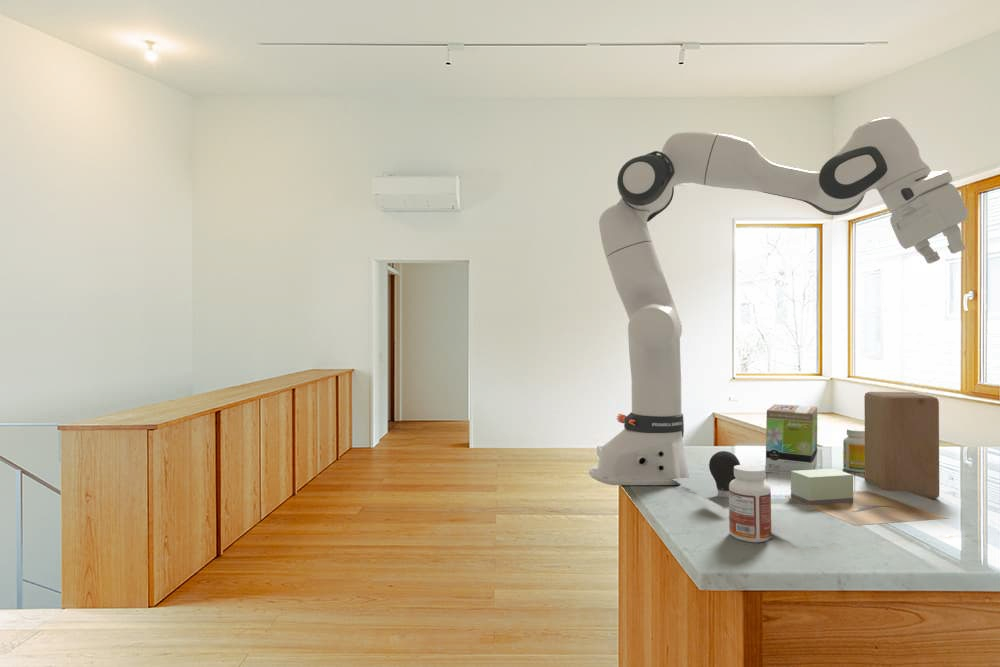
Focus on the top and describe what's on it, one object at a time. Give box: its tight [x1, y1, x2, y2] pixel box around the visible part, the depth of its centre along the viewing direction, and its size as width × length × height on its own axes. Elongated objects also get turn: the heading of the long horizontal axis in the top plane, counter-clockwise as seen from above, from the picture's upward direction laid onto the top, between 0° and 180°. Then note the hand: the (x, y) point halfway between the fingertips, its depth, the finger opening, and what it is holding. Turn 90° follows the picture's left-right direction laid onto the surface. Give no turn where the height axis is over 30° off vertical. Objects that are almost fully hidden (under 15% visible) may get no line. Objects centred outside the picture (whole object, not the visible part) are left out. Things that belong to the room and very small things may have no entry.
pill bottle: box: [728, 464, 772, 543], centre depth 92 cm, size 6×6×11 cm
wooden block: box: [863, 391, 940, 500], centre depth 117 cm, size 10×10×20 cm
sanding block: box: [790, 468, 854, 505], centre depth 107 cm, size 9×5×5 cm, turn 100°
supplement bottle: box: [842, 427, 865, 474], centre depth 136 cm, size 5×5×10 cm
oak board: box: [785, 490, 950, 526], centre depth 103 cm, size 18×17×2 cm
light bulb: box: [708, 450, 741, 499], centre depth 110 cm, size 6×6×10 cm
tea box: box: [765, 403, 818, 474], centre depth 137 cm, size 15×10×15 cm
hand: (946, 257), depth 110 cm, fingers open, 8 cm apart
